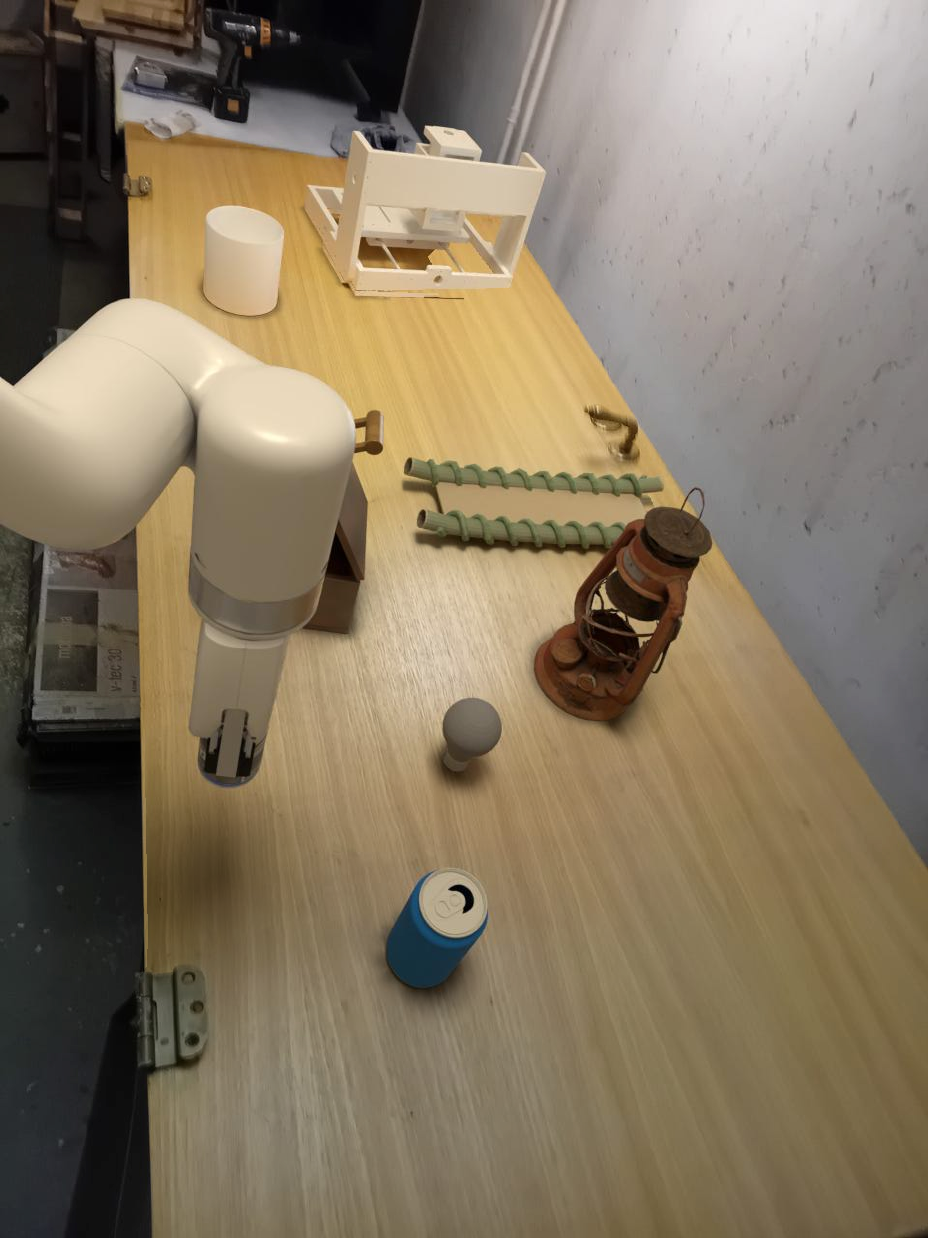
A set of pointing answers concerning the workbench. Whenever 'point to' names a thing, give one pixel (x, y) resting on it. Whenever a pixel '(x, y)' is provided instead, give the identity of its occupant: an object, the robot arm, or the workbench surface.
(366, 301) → the workbench surface
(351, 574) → the chest
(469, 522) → the stretcher
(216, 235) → the cup
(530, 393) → the workbench surface
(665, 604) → the lantern
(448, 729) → the light bulb
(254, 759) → the pill bottle
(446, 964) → the beverage can
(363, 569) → the lid
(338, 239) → the 3d printer
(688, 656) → the workbench surface
